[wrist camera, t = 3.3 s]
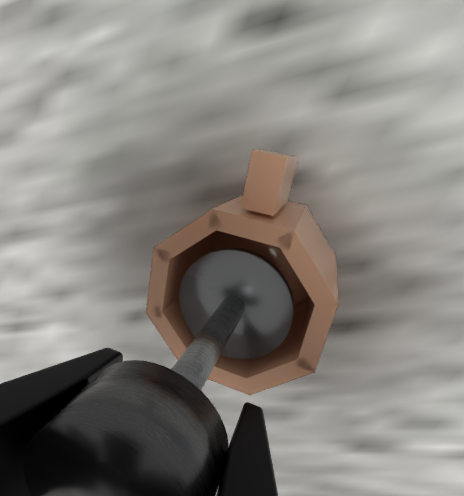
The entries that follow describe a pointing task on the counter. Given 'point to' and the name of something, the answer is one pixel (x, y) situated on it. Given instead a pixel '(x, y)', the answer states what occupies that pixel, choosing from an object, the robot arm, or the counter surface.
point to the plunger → (165, 394)
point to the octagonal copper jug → (272, 248)
